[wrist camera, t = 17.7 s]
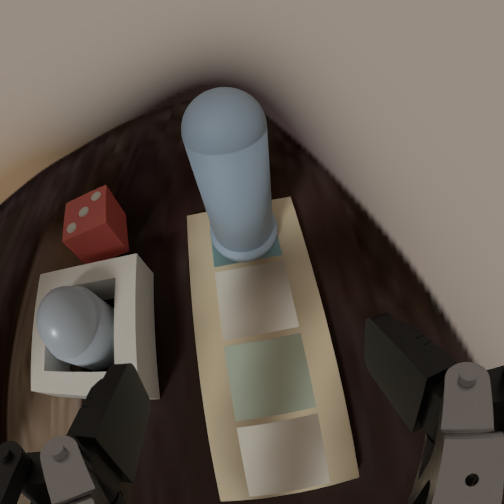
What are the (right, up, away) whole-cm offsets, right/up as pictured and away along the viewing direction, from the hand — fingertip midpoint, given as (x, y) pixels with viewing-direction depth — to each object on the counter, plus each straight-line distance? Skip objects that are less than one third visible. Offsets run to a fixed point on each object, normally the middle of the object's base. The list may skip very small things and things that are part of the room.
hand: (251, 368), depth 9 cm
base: (-11, -2, +9) cm, 14 cm away
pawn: (-1, +5, +11) cm, 13 cm away
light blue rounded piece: (-11, -2, +9) cm, 14 cm away
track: (+1, -2, +8) cm, 9 cm away
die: (-12, +5, +13) cm, 19 cm away
